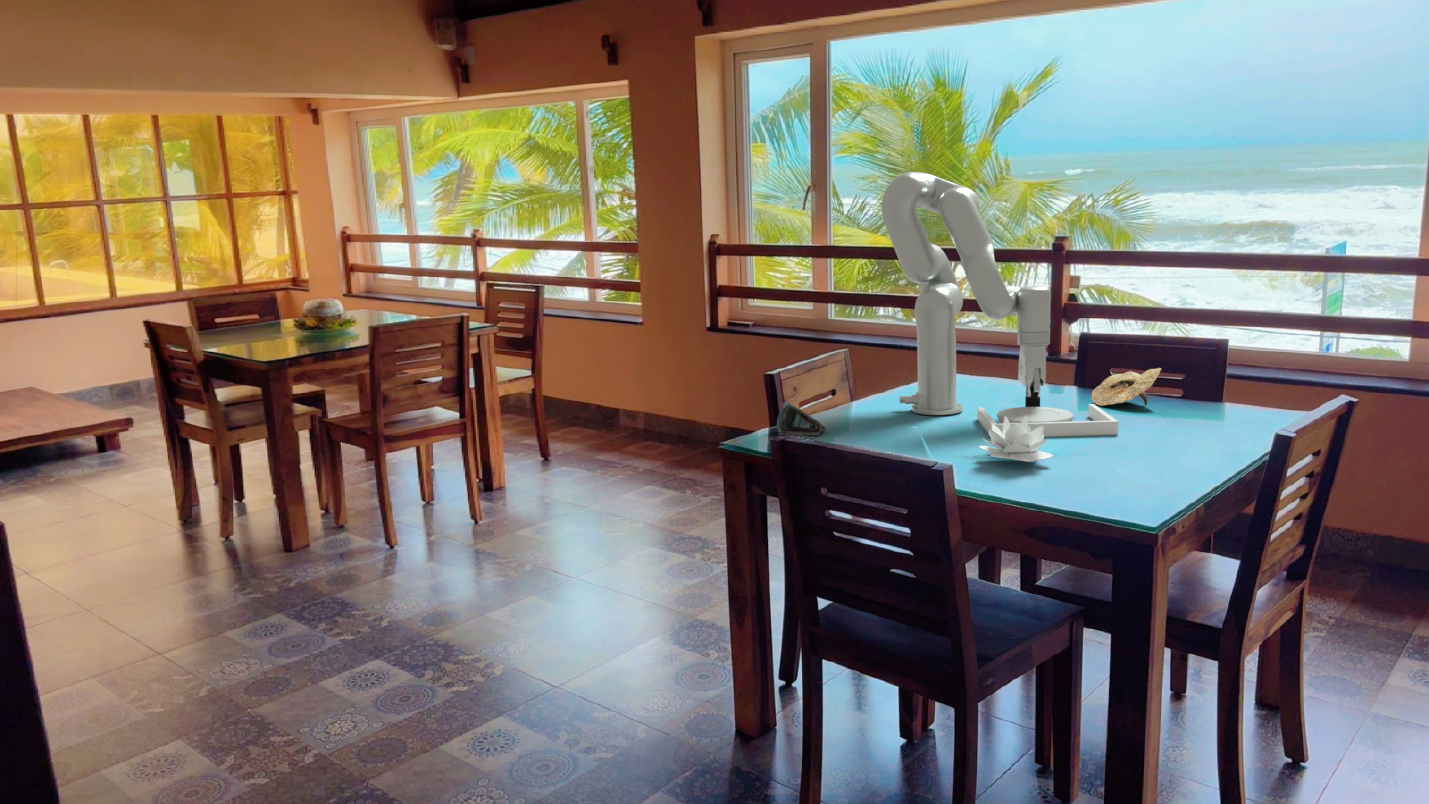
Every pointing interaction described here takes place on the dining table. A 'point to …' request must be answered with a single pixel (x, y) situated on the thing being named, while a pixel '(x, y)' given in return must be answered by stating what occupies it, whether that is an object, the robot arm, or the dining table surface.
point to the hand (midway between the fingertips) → (1032, 412)
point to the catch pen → (1064, 424)
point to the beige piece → (1124, 387)
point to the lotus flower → (1017, 442)
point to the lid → (1035, 415)
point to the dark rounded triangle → (797, 421)
